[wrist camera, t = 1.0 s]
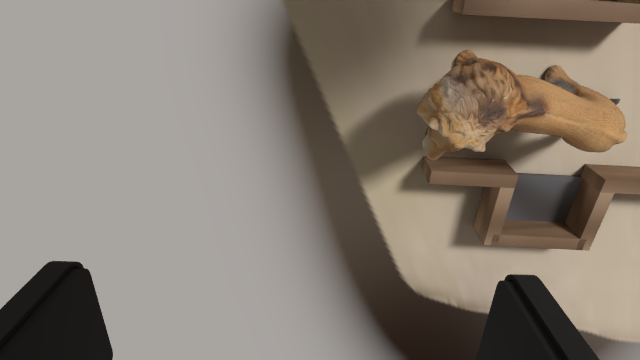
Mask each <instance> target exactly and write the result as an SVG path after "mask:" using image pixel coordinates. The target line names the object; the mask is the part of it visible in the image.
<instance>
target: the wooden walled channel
mask: <svg viewBox="0 0 640 360" xmlns="http://www.w3.org/2000/svg"><path fill="white" fill-rule="evenodd" d="M451 11H453V12H456V13H459V14H462V15H481V16H501V17H521V18H541V19H561V20H581V21H601V22H621V23H640V0H617V1H600V0H453V1H452V6H451ZM422 169H423V172H424V174H425V176H426V178H427V180H428V182H429V184H441V185H461V186H481V187H484V188H483V192H482V195H481V199H480V203H479V206H478V210H477V214H476V218H475V221H474V225H473V227H474V229H475V231H476V232H477V234H478V236H479V238H480V240H481V241H482V243H483V245H492V246H511V247H531V248H551V249H570V250H589V249H590V247H591V245H592V242H593V240H594V238H595V236H596V233H597V231H598V229H599V227H600V225H601V222H602V220H603V218H604V216H605V214H606V211H607V209H608V207H609V205H610V202H611V200H612V198H613V196H614V194H615V193H619V194H639V195H640V167H629V166H609V165H589V164H585V166H584V168H583V171H582V174H581V176H566V175H546V174H526V173H516V172H515V171H514V170H513V169H512V168H511V167H510V166H509V164H508V163H507V162H506V161H505V160H490V159H470V158H450V157H439V158H438V159H437V160H430V159H429V158H427V157H426V156H424V160H423V165H422Z"/></svg>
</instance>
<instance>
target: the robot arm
mask: <svg viewBox="0 0 640 360" xmlns="http://www.w3.org/2000/svg"><path fill="white" fill-rule="evenodd" d="M112 357H113V352H112V348H111V344H110V340H109V337H108V334H107V330H106V326H105V323H104V319H103V316H102V313H101V309H100V305H99V302H98V298H97V295H96V292H95V288H94V285H93V281H92V278H91V275H90V272H89V270H88V269H84V268H83V265H82V264H81V263H79V262H66V261H52V262H49V263H47V264H46V265H45V266H44V267H43V268H42V269H41V270H40V271H39V272H38V273H37V274H36V275H35V276H34V277H33V278H32V279H31V280H30V281H29V282H28V283H27V284H26V285H24V287H22V288H21V289H20V290H19V292H17V293H16V294H15V295H14V296H13V297H12V298H11V300H9V301H8V302H7V303H6V305H4V306H3V307H2V308H1V309H0V360H112ZM476 360H599V359H598V357H597V356H596V354H595V353H594V352H593V351H592V349H591V348H590V346H589V345H588V344H587V343H586V341H585V340H584V338H583V337H582V336H581V334H580V333H579V332H578V330H577V329H576V327H575V326H574V325H573V323H572V322H571V321H570V319H569V318H568V317H567V315H566V314H565V313H564V311H563V310H562V308H561V307H560V306H559V304H558V303H557V302H556V300H555V299H554V298H553V296H552V295H551V294H550V292H549V291H548V289H547V288H546V287H545V285H544V284H543V283H542V281H541V280H540V279H539V278H538V277H537V276H535V275H512V274H510V275H507V276H506V278H505V280H504V281H499V282H498V284H497V287H496V291H495V294H494V298H493V301H492V305H491V308H490V312H489V315H488V319H487V322H486V326H485V329H484V333H483V336H482V340H481V343H480V347H479V350H478V354H477V357H476Z"/></svg>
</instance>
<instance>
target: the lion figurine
mask: <svg viewBox="0 0 640 360" xmlns="http://www.w3.org/2000/svg"><path fill="white" fill-rule="evenodd" d="M456 65H457V66H455V67H453V68H452V69H451V70H450V71H449V72H448V73H447V74H446V75H445V76H444V78H443V79H441V81H440V82H439V83H438V84H435V85H434V86H433V88H431V89H429V90H428V93H426V94H425V96H424V98H423V101H422V102H421V103H420V104H419V107H418V109H417V114H418V115H420V116H421V117H422V118H423V120H424V121H425V122H426V123H427V124H428V129H427V131H426V136H425V138H424V139H423V142H422V146H423V149H424V151H425V155H426V157H427V158H429V159H430V160H437V159H438V158H439V157H440V156H441V155H442V154H444V153H445V152H446V151H450V152H452V151H459V150H461V149H462V148H469V149H471V150H473V151H475V152H478V151H480V152H484V151H485V143H486V142H488V141H489V140H490V139H491V138H492V137H493V136H494V135H495V134H499V133H500V132H508V131H509V130H510V129H511V128H513V129H516V130H519V131H523V132H529V133H536V134H548V135H556V136H561V137H562V139H563V140H564V141H565V142H566V143H568V144H570V145H572V146H574V147H575V148H577V149H580V150H583V151H587V152H605V151H607V150H609V149H610V148H611V147H612V146H613V145H615V144H619V143H622V142H624V141H625V140H626V138H627V133H626V132H625V131H624V129H625V125H626V123H625V118H624V115H623V113H622V112H621V111H620V109H619V108H618V107H617V106H616V105H617V104H618V103H619V101H620V99H608V98H607V97H605V96H604V95H602V94H600V93H598V92H596V91H594V90H592V89H589V88H587V87H583V86H581V85H580V84H578V83H577V82H575V81H573V80H572V79H571V78H569V77H568V76H567V74H566V73H565V72H564V70H563V69H562V68H561V67H560V66H557V65H555V66H552V67H550V68H549V69H548V70H547V72H546V74H545V80H546V81H544V80H541V79H539V78H535V77H531V76H524V75H516V74H515V73H514V72H512V71H511V70H509V69H507V68H506V67H505V66H504V65H502V64H500V63H497V62H493V61H490V60H486V59H481V58H477V57H476V56H475V54H474V53H473V52H472V51H469V50H465V51H463V52H461V53H460V54H459V55H458V56H457V61H456ZM560 87H561V88H560Z"/></svg>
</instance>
